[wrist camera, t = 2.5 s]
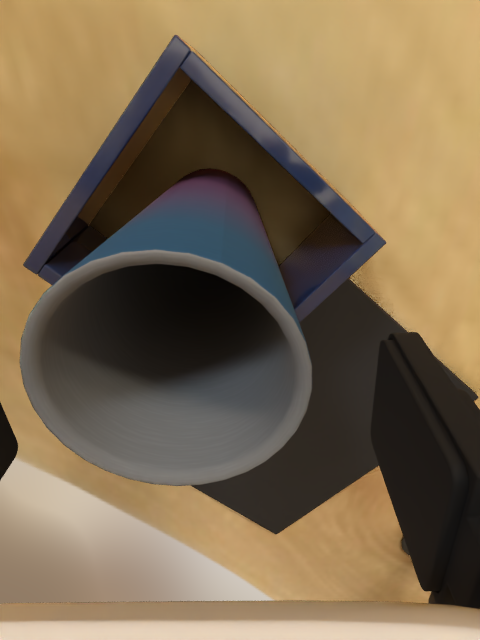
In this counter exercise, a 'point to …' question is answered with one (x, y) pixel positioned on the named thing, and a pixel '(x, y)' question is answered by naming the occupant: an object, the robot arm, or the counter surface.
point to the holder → (187, 64)
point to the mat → (323, 417)
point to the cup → (172, 343)
